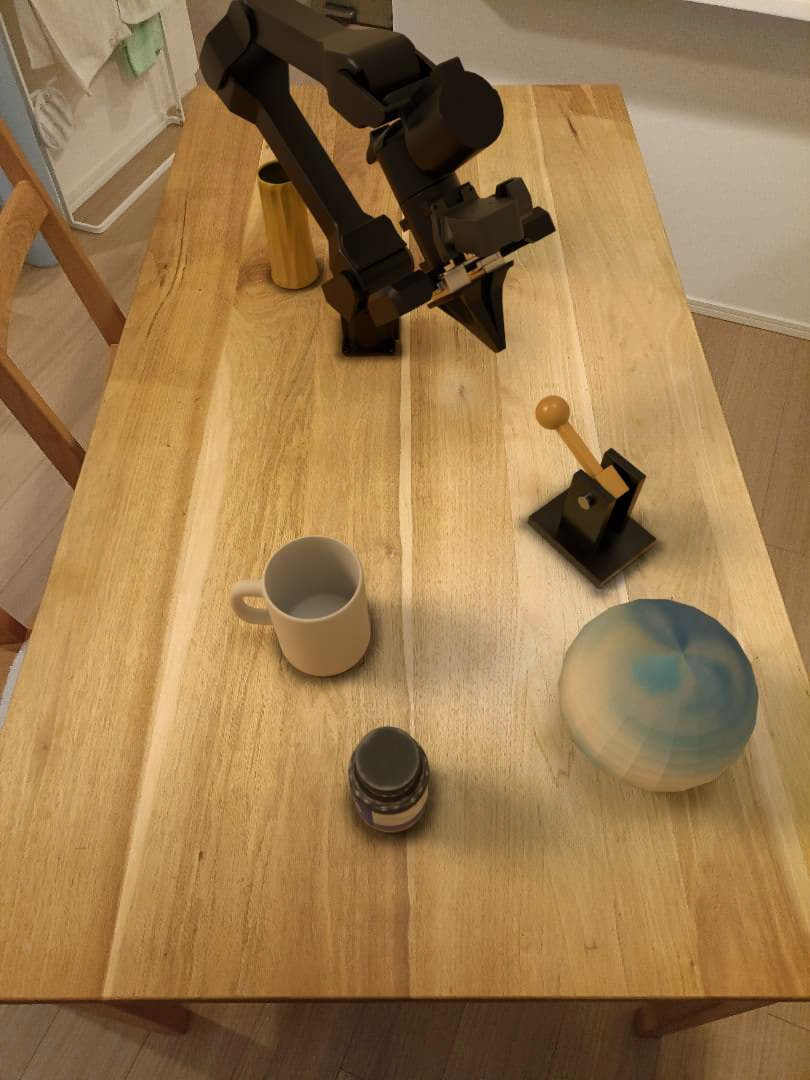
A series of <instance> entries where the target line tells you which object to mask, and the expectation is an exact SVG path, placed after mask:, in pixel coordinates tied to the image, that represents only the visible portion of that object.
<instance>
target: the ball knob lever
mask: <svg viewBox="0 0 810 1080" xmlns="http://www.w3.org/2000/svg"><path fill="white" fill-rule="evenodd" d="M534 413H535V414H534V415H535V416H534V417H535V420H536V422H537V423H538V425H539V426H540V427H542V428H543V429H545V430H548V431H555V432H556V433H557V434H558V435H559V437H560V438H561V440H562V441H563V442H564V444H565V445H566V447H567V448H568V449H569V451H570V452H571V454H572V455H573V457H574V458H575V459H576V461H577V462H578V464H579V465H580V466H581V468H582V470H583V471H585V472H586V473H587V474H588V475H589V476H590V477H592V478H593V479H594V480H595V481H596V482H598V483H599V484H600V485H601V486H602V487H603V488H605V489H606V490H607V491H608V492H609V493H611V494H612V495H613V496H614V497H615V498H616V499H617V498H619V497H620V496H621V495H623V494H624V493H625V492H627V491H628V490H629V488H628V487H627V485H626V484H625V482H624V481H623V480H622V478H621V477H620V475H619V474H618V473H617V471H616V470H615V469H614V467H613V466H612V465H610V466H609V467H607V468H606V469H604V470H603V468H602V467H601V465H600V464H601V463H599V461H598V460H597V459H596V457H595V456H594V454H593V453H592V452H591V450H590V449H589V447H588V446H587V445H586V443H585V442H584V441H583V439H582V437H580V434H579V433H578V432H577V431H576V429H575V428H574V427H573V425H572V424H571V423H570V421H569V420H570V416H571V408H570V405H569V403H568V402H567V400H565V398H563V397H562V396H559V395H555V394H552V395H547V396H545V397H543V398H542V399H540V400H539V401H538V403H537V404H536V407H535V411H534Z"/></svg>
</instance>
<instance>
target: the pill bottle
mask: <svg viewBox="0 0 810 1080" xmlns="http://www.w3.org/2000/svg"><path fill="white" fill-rule="evenodd" d="M429 764H430V763H429V760H428V757H427V754H426V752H425V750H424V749H423V747H422V746H421V745H420V744H419V742H418V741H417V740H416V739H415V738H413V737H412V735H411V734H409V733H408V732H407V731H406V730H403V729H401V728H399V727H396V726H390V725H387V726H385V725H384V726H379V727H377V728H374V729H372V730H370V731H369V732H368V733H366V734H365V735H364V736H363V737H362V738H361V740H360V741H359V742H358V745H357V746H356V747H355V748H354V750H353V752H352V754H351V756H350V758H349V762H348V769H347V773H348V782H349V786H350V790H351V793H352V798H353V802H354V804H355V808H356V809H355V810H356V812H357V814H358V815H359V816H360V818H361V819H362V820H363V821H364V823H366V824H367V826H368V827H369V828H371V829H372V830H375V831H377V832H380V833H383V834H398V833H399V834H400V833H403V832H405V831H407V830H409V829H411V828H412V827H413V826H414V825H415V824H416V823H417V822H418V821H419V820H420V819H421V818H422V817H423V815H424V813H425V810H426V807H427V803H428V797H429V785H430V765H429Z"/></svg>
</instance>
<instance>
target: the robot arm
mask: <svg viewBox="0 0 810 1080" xmlns="http://www.w3.org/2000/svg"><path fill="white" fill-rule="evenodd" d="M198 64H199V69H200V72H201V75H202V77H203V79H204V81H205V83H206V85H207V86H208V88H209V89H210V90H212V91H213V92H215V94H216V95H217V97H218V98H219V99H220V101H221V102H222V103H223V105H224V106H225V108H226V109H227V110H228V111H229V112H230V113H231V114H233V115H235V116H237V117H239V118H241V119H243V120H245V121H247V122H249V123H251V124H252V125H254V126H255V127H256V128H257V130H258V131H259V133H260V134H261V137H262V138H263V139H264V141H265V142H266V145H267V146H268V147H269V149H270V150H271V153H272V154H273V155H274V157H275V158H276V160H278V161H279V163H280V165H281V166H282V168H283V169H284V171H285V173H286V174H287V176H288V177H289V179H290V180H291V182H292V184H293V185H294V187H295V188H296V190H297V192H298V193H299V195H300V196H301V198H302V200H303V201H304V203H305V204H306V207H307V210H308V211H309V213H310V214H311V215H312V217H313V219H314V220H315V222H316V224H317V225H318V227H319V228H320V230H321V232H322V233H323V235H324V236H325V238H326V240H327V243H328V269H329V271H330V274H331V276H332V278H330V279H328V280H326V281H325V282H323V283H322V284H321V290H322V293H323V296H324V299H325V302H326V303H327V304H328V305H329V306H330V307H331V308H333V309H334V310H335V311H336V312H337V313H338V314H339V316H340V317H339V318H340V325H341V335H342V337H341V338H342V339H341V354H342V355H343V356H347V357H349V356H350V357H351V356H358V357H359V356H361V357H362V356H395V354H396V353H397V341H400V339H401V321H400V319H401V317H403V316H404V315H406V314H409V313H410V312H413V311H414V310H417V308H419V307H421V306H423V305H425V304H426V306H427V308H428V309H429V310H431V309H435V308H438V309H439V310H440V311H442V312H443V313H444V314H446V315H447V316H449V317H450V318H453V320H455V321H456V322H458V323H459V324H460V325H461V326H463V327H464V328H465V329H466V330H468V331H469V332H470V333H471V334H472V335H473V336H474V337H475V338H477V340H479V341H480V342H481V343H482V344H483V345H485V346H486V347H487V348H488V349H489V350H490V351H491V352H493V354H499V353H501V352H503V351H504V350H506V349H507V339H506V326H505V316H504V303H503V302H504V300H503V299H504V298H503V296H504V295H503V294H504V283H505V281H506V277H507V274H508V271H509V270H510V269H511V268H513V267H515V259H512V260H509V261H507V262H506V260H505V257H507V256H509V255H511V254H513V253H514V252H516V251H518V250H520V249H522V248H524V247H526V246H528V245H531V244H532V245H533V244H535V243H537V242H539V241H541V240H543V239H544V238H546V237H548V236H550V235H552V234H554V233H555V232H557V228H556V225H555V222H554V221H553V218H552V216H551V213H550V212H549V211H547V210H546V209H544V208H543V207H541V206H539V205H537V206H535V207H534V205H533V199H532V195H531V193H530V191H529V189H528V186H527V184H526V183H525V181H524V179H523V177H522V176H519V177H518V176H517V177H515V176H514V177H513V176H512V177H510V178H507V179H505V180H504V181H502V182H499V183H497V184H496V185H495V191H494V193H492V194H490V195H488V196H486V197H480V196H479V195H478V192H477V190H476V188H475V187H474V185H473V184H471V182H470V180H468V181H467V182H464V183H461V181H460V179H459V177H458V175H457V172H456V171H458V170H459V169H460V168H462V167H463V166H465V164H467V163H468V162H470V161H472V159H474V158H475V157H477V156H478V155H480V154H481V153H482V152H484V151H485V150H486V149H487V148H489V147H491V146H492V145H493V144H494V143H495V142H496V141H497V140H498V138H499V137H500V135H501V133H502V130H503V128H504V121H505V112H504V105H503V102H502V98H501V96H500V94H499V91H498V90H497V89H495V88H494V87H493V85H491V83H490V82H489V81H488V80H487V79H485V78H484V77H483V76H482V75H480V74H478V73H476V72H474V71H470V70H466V69H465V68H464V65H463V63H462V61H461V58H460V57H459V56H457V55H456V56H454V57H452V58H449V59H447V60H445V61H441V62H440V63H438V64H436V63H435V62H433V61H432V60H431V59H429V57H427V56H426V55H425V54H423V52H421V51H420V50H419V49H417V48H416V45H415V44H414V43H413V42H412V40H411V39H410V38H409V37H408V36H407V35H406V34H404V33H402V32H399V31H393V30H388V29H383V28H363V29H353V28H349V27H346V26H344V25H343V24H340V23H339V22H337V21H335V20H334V19H332V18H330V17H328V16H326V15H324V14H322V13H320V12H319V11H317V10H315V9H313V8H311V7H309V6H308V5H305V4H304V3H302V2H300V1H299V0H231V2H230V3H229V6H228V8H227V12H226V14H224V16H223V17H222V18H221V19H220V20H219V21H218V22H217V24H215V26H214V27H212V29H210V31H209V32H208V33H207V34H206V35H205V38H204V40H203V44H202V46H201V50H200V54H199V57H198ZM290 66H292V67H293V68H295V69H296V70H299V71H300V72H302V73H303V74H305V75H307V76H308V77H310V78H311V79H313V80H314V81H317V82H318V83H320V85H322V86H323V87H324V88H325V89H326V93H327V99H328V104H329V106H330V107H331V108H332V109H333V110H334V111H335V112H336V113H338V114H339V115H340V116H341V117H342V118H343V119H344V120H345V121H346V122H347V123H348V124H350V125H351V126H353V127H354V128H356V129H359V130H363V129H366V128H368V127H369V128H372V130H370V131H369V142H368V143H369V144H368V146H367V149H366V152H365V161H366V163H367V164H368V165H369V166H371V165H374V164H376V163H377V162H378V164H379V165H380V168H381V170H382V173H383V174H384V177H385V178H386V181H387V183H388V185H389V187H390V189H391V191H392V194H393V196H394V198H395V200H396V202H397V204H398V206H399V209H400V211H401V213H402V215H403V217H404V218H402V219H400V221H398V224H399V226H400V228H401V230H402V232H403V233H405V232H407V231H409V230H410V232H411V234H412V236H413V238H414V241H415V242H416V245H417V247H418V249H419V252H420V254H421V256H422V258H423V260H424V261H422V262H420V263H418V266H419V268H418V269H416V263H415V259H414V256H413V254H412V252H411V250H410V249H409V248H408V243H407V242H406V241H405V239H403V238H402V237H401V235H400V234H399V232H398V231H397V229H396V227H395V225H394V222H393V221H392V219H391V218H390V217H389V216H387V214H385V213H382V214H380V215H378V216H376V217H374V216H372V215H371V214H368V213H367V212H366V211H364V209H363V208H362V207H361V205H360V203H359V202H358V200H357V199H356V197H355V195H354V194H353V192H352V191H351V189H350V188H349V186H348V184H347V183H346V181H345V179H344V178H343V176H342V175H341V173H340V171H339V170H338V168H337V167H336V165H335V163H334V162H333V160H332V159H331V157H330V156H329V154H328V152H327V150H326V149H325V148H324V146H323V144H322V142H321V141H320V139H319V138H318V136H317V135H316V133H315V131H314V130H313V128H312V126H311V124H309V122H308V120H307V118H306V117H305V115H304V113H303V112H302V110H301V109H300V108H299V105H298V104H297V102H296V101H295V99H294V98H293V95H292V94H291V85H290V83H291V82H290V81H291V79H290ZM389 123H391V124H389ZM468 255H473V256H471V257H469V258H468V259H467V257H466V256H468ZM451 261H452V262H451ZM452 263H453V267H451V268H450V269H447V270H446V267H448V266H450V265H451V264H452ZM415 269H416V270H415Z"/></svg>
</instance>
